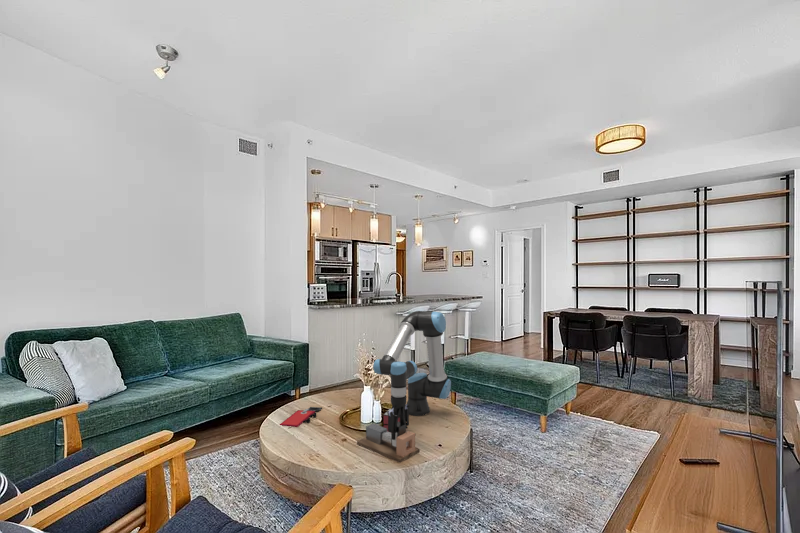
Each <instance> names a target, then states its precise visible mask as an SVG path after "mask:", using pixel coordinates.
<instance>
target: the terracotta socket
mask: <svg viewBox="0 0 800 533" xmlns="http://www.w3.org/2000/svg"><path fill="white" fill-rule="evenodd" d="M407 441H409V447H407V448H406V442H407ZM415 447H416V433H415V432H412V431H409V430H408V431H406V433H404V434H402V435H400V436H398V437H396V455H399V456H401V457H404V456H406V455H408V454H410V453H411V452H413V451H415Z"/></svg>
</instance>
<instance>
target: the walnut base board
mask: <svg viewBox="0 0 800 533" xmlns="http://www.w3.org/2000/svg"><path fill="white" fill-rule="evenodd" d="M356 445H358V446H361V447H363V448H364V449H367V450H370V451H373V452H374V453H377V454H379V455H381V456H383V457H385V458H388V459H390V460H393V461H395V462H397V463H399V464H400V463H402V462H405V461H406V460H408V459H410V458H411V457H413V456H415V455H416V454H419V453H420V448H418V447H416V446H415V451H413V452H411V453H410V454H408V455H406V456H404V457H401V456H399V455H396V447H394V446H391V443H389V442H386V443H384V444H381V445H379V444H376V443H374V442H371V441H369V440H367V439H366V436H365V437H363V438H361V439H359V440H356Z"/></svg>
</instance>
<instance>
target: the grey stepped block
mask: <svg viewBox="0 0 800 533" xmlns="http://www.w3.org/2000/svg"><path fill="white" fill-rule="evenodd" d="M384 431H387V428H384V427H383V426H382V425H378V424H375V423H372V424H369V425H367V426H365V437H366V439H367V440H369V441H371V442H374V443H376V444H379V445H381V444H384V443H386V441H384V440H381V432H384Z"/></svg>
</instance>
